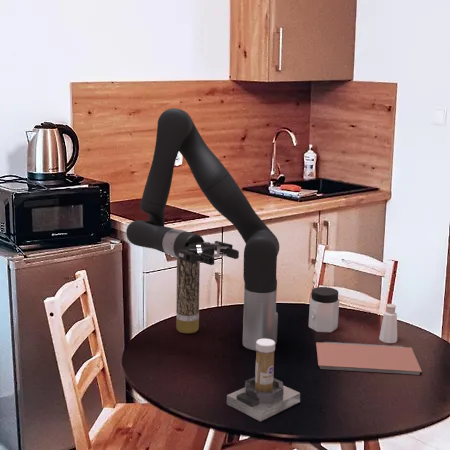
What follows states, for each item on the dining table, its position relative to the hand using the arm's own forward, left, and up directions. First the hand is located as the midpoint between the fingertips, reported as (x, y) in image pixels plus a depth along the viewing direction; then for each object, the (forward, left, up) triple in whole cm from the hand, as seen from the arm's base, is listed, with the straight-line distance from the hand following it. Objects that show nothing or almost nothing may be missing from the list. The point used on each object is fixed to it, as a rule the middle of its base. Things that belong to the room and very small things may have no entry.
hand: (225, 258), depth 176 cm
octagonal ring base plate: (+3, +17, -32) cm, 36 cm away
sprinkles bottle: (+3, +17, -30) cm, 34 cm away
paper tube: (-14, -30, -32) cm, 46 cm away
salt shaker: (-54, +15, -32) cm, 65 cm away
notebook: (-37, +19, -33) cm, 53 cm away
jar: (-47, -4, -32) cm, 57 cm away
